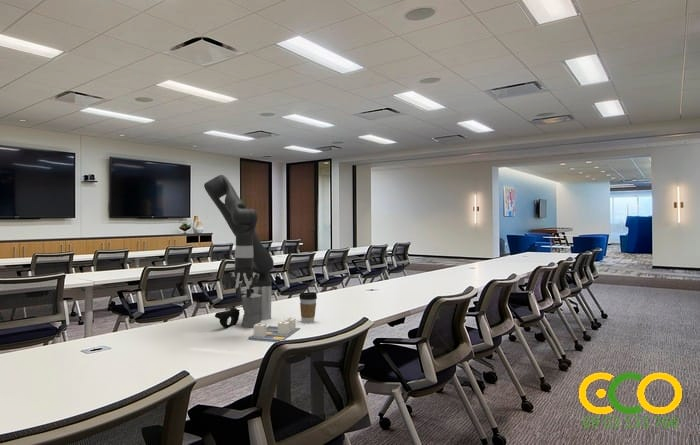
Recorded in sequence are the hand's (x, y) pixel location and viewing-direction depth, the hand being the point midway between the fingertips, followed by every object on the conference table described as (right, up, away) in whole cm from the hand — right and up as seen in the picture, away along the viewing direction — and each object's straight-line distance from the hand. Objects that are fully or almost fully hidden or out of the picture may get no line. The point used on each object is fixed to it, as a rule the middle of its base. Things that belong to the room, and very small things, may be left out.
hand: (243, 297), depth 185 cm
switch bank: (+13, -17, +4) cm, 22 cm away
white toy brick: (+7, -16, -2) cm, 18 cm away
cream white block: (+17, -16, +3) cm, 23 cm away
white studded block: (+18, -16, +9) cm, 26 cm away
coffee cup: (+24, -18, +28) cm, 41 cm away
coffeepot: (-1, -17, +18) cm, 25 cm away
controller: (-11, -17, +17) cm, 26 cm away
